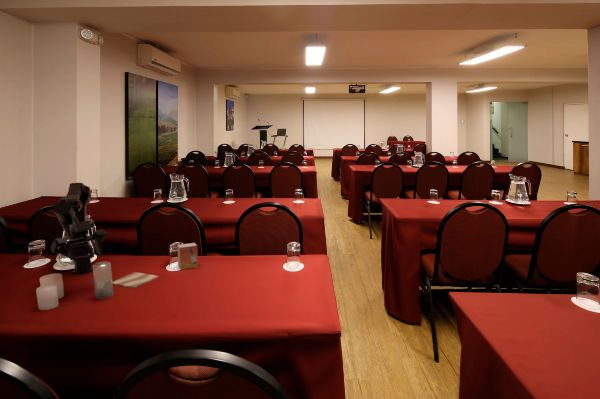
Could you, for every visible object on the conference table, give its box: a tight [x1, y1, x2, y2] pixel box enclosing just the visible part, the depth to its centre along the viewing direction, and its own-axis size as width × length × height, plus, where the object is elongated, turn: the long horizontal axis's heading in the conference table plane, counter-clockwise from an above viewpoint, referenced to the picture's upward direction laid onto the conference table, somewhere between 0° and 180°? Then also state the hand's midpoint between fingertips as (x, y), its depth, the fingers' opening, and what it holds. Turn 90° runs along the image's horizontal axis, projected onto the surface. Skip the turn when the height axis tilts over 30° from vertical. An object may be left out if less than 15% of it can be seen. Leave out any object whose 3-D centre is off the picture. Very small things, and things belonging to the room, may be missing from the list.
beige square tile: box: [112, 271, 159, 289], centre depth 159 cm, size 13×13×1 cm
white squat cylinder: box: [35, 284, 60, 311], centre depth 134 cm, size 6×6×7 cm
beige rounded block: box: [39, 273, 65, 300], centre depth 142 cm, size 7×7×8 cm
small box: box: [176, 242, 199, 270], centre depth 174 cm, size 8×6×10 cm
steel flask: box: [92, 261, 114, 300], centre depth 143 cm, size 6×6×12 cm
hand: (89, 258), depth 143 cm, fingers open, 9 cm apart
